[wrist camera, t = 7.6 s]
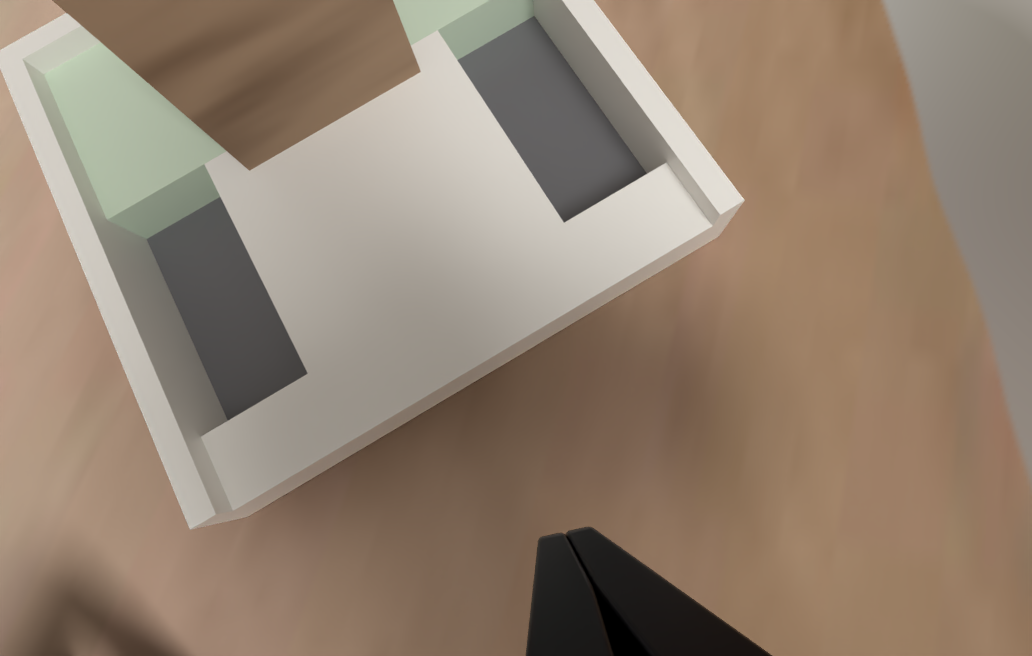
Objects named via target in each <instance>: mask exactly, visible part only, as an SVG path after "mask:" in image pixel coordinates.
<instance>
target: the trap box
mask: <svg viewBox="0 0 1032 656" xmlns="http://www.w3.org/2000/svg"><path fill="white" fill-rule="evenodd" d="M393 2H394V4H395V7H396V9H397V12H398V14H399V17H400V20H401V22H402V25H403V27H404V30H405V32H406V35H407V37H408V40H409V43H410V45H411V48H412V50H413V53H414V55H415V58H416V60H417V63H418V65H419V68H420V71H421V72H420V73H418V74H416V75H415V76H413V77H411V78H409V79H408V80H406V81H404V82H402V83H401V84H399V85H397V86H396V87H394V88H392V89H390V90H389V91H387V92H385V93H383V94H382V95H380V96H378V97H376V98H375V99H373V100H371V101H369V102H368V103H366V104H364V105H363V106H361V107H359V108H357V109H356V110H354V111H352V112H350V113H349V114H347V115H345V116H343V117H342V118H340V119H338V120H337V121H335V122H333V123H331V124H330V125H328V126H326V127H324V128H323V129H321V130H319V131H317V132H316V133H314V134H312V135H310V136H309V137H307V138H305V139H304V140H302V141H300V142H298V143H297V144H295V145H293V146H291V147H290V148H288V149H286V150H284V151H283V152H281V153H279V154H278V155H276V156H274V157H272V158H271V159H269V160H267V161H265V162H264V163H262V164H260V165H258V166H257V167H255V168H253V169H252V170H250V171H249V170H248V169H247V168H246V167H244V166H243V165H242V164H241V163H240V162H239V161H238V160H236V159H235V158H234V157H233V156H232V155H231V154H229V153H228V152H227V151H226V150H225V149H224V148H223V147H221V146H220V145H219V144H218V143H217V142H216V141H214V140H213V139H212V138H211V137H210V136H209V135H207V134H206V133H205V132H204V131H203V130H202V129H201V128H199V127H198V126H197V125H196V124H195V123H194V122H192V121H191V120H190V119H189V118H188V117H187V116H186V115H184V114H183V113H182V112H181V111H180V110H179V109H177V108H176V107H175V106H174V105H173V104H172V103H170V102H169V101H168V100H167V99H166V98H165V97H164V96H162V95H161V94H160V93H159V92H158V91H157V90H155V89H154V88H153V87H152V86H151V85H150V84H149V83H147V82H146V81H145V80H144V79H143V78H142V77H140V76H139V75H138V74H137V73H136V72H135V71H133V70H132V69H131V68H130V67H129V66H128V65H127V64H125V63H124V62H123V61H122V60H121V59H120V58H118V57H117V56H116V55H115V54H114V53H113V52H112V51H110V50H109V49H108V48H107V47H106V46H105V45H103V44H102V43H101V42H100V41H99V40H98V39H96V38H95V37H94V36H93V35H92V34H91V33H90V32H88V31H87V30H86V29H85V28H84V27H83V26H81V25H80V24H79V23H78V22H77V21H76V20H75V19H73V18H72V17H71V16H70V15H69V14H68V13H65V14H64V15H62V16H60V17H58V18H56V19H55V20H53V21H51V22H49V23H47V24H46V25H44V26H42V27H40V28H39V29H37V30H35V31H33V32H31V33H30V34H28V35H26V36H24V37H22V38H21V39H19V40H17V41H15V42H14V43H12V44H10V45H8V46H6V47H5V48H3V49H1V50H0V69H1V71H2V74H3V76H4V79H5V81H6V84H7V86H8V88H9V91H10V93H11V96H12V98H13V101H14V103H15V105H16V108H17V110H18V113H19V115H20V118H21V120H22V123H23V125H24V127H25V130H26V132H27V135H28V137H29V140H30V142H31V144H32V147H33V149H34V152H35V154H36V157H37V159H38V161H39V164H40V166H41V169H42V171H43V174H44V176H45V178H46V181H47V183H48V186H49V188H50V191H51V193H52V195H53V198H54V200H55V203H56V205H57V208H58V210H59V212H60V215H61V217H62V220H63V222H64V225H65V227H66V229H67V232H68V234H69V237H70V239H71V242H72V244H73V247H74V249H75V251H76V254H77V256H78V259H79V261H80V264H81V266H82V268H83V271H84V273H85V276H86V278H87V281H88V283H89V285H90V288H91V290H92V293H93V295H94V298H95V300H96V302H97V305H98V307H99V310H100V312H101V315H102V317H103V319H104V322H105V324H106V327H107V329H108V332H109V334H110V336H111V339H112V341H113V344H114V346H115V349H116V351H117V354H118V356H119V358H120V361H121V363H122V366H123V368H124V371H125V373H126V375H127V378H128V380H129V383H130V385H131V388H132V390H133V392H134V395H135V397H136V400H137V402H138V405H139V407H140V409H141V412H142V414H143V417H144V419H145V422H146V424H147V426H148V429H149V431H150V434H151V436H152V439H153V441H154V443H155V446H156V448H157V451H158V453H159V456H160V458H161V460H162V463H163V465H164V468H165V470H166V473H167V475H168V478H169V480H170V482H171V485H172V487H173V490H174V492H175V495H176V497H177V499H178V502H179V504H180V507H181V509H182V512H183V514H184V516H185V519H186V521H187V524H188V526H189V529H190V530H191V529H196V528H200V527H205V526H209V525H214V524H218V523H223V522H227V521H232V520H236V519H241V518H245V517H248V516H250V515H252V514H253V513H255V512H257V511H258V510H260V509H262V508H263V507H265V506H267V505H269V504H270V503H272V502H274V501H275V500H277V499H279V498H280V497H282V496H284V495H285V494H287V493H289V492H290V491H292V490H294V489H295V488H297V487H299V486H300V485H302V484H304V483H305V482H307V481H309V480H311V479H312V478H314V477H316V476H317V475H319V474H321V473H322V472H324V471H326V470H327V469H329V468H331V467H332V466H334V465H336V464H337V463H339V462H341V461H342V460H344V459H346V458H347V457H349V456H351V455H353V454H354V453H356V452H358V451H359V450H361V449H363V448H364V447H366V446H368V445H369V444H371V443H373V442H374V441H376V440H378V439H379V438H381V437H383V436H384V435H386V434H388V433H389V432H391V431H393V430H395V429H396V428H398V427H400V426H401V425H403V424H405V423H406V422H408V421H410V420H411V419H413V418H415V417H416V416H418V415H420V414H421V413H423V412H425V411H426V410H428V409H430V408H431V407H433V406H435V405H437V404H438V403H440V402H442V401H443V400H445V399H447V398H448V397H450V396H452V395H453V394H455V393H457V392H458V391H460V390H462V389H463V388H465V387H467V386H468V385H470V384H472V383H473V382H475V381H477V380H479V379H480V378H482V377H484V376H485V375H487V374H489V373H490V372H492V371H494V370H495V369H497V368H499V367H500V366H502V365H504V364H505V363H507V362H509V361H510V360H512V359H514V358H515V357H517V356H519V355H521V354H522V353H524V352H526V351H527V350H529V349H531V348H532V347H534V346H536V345H537V344H539V343H541V342H542V341H544V340H546V339H547V338H549V337H551V336H552V335H554V334H556V333H557V332H559V331H561V330H563V329H564V328H566V327H568V326H569V325H571V324H573V323H574V322H576V321H578V320H579V319H581V318H583V317H584V316H586V315H588V314H589V313H591V312H593V311H594V310H596V309H598V308H599V307H601V306H603V305H605V304H606V303H608V302H610V301H611V300H613V299H615V298H616V297H618V296H620V295H621V294H623V293H625V292H626V291H628V290H630V289H631V288H633V287H635V286H636V285H638V284H640V283H641V282H643V281H645V280H647V279H648V278H650V277H652V276H653V275H655V274H657V273H658V272H660V271H662V270H663V269H665V268H667V267H668V266H670V265H672V264H673V263H675V262H677V261H678V260H680V259H682V258H683V257H685V256H687V255H689V254H690V253H692V252H694V251H695V250H697V249H699V248H700V247H702V246H704V245H705V244H707V243H709V242H710V241H712V240H714V239H715V238H717V237H719V235H720V234H721V232H722V231H723V230H724V228H725V227H726V225H727V224H728V223H729V221H730V220H731V219H732V217H733V216H734V214H735V213H736V212H737V210H738V209H739V207H740V206H741V205H742V203H743V202H744V201H745V200H744V199H743V198H742V196H741V195H740V194H739V192H738V191H737V190H736V188H735V187H734V186H733V184H732V183H731V182H730V180H729V179H728V178H727V176H726V175H725V174H724V172H723V171H722V170H721V168H720V167H719V166H718V164H717V163H716V162H715V160H714V159H713V158H712V156H711V155H710V154H709V152H708V151H707V150H706V148H705V147H704V146H703V145H702V143H701V142H700V141H699V139H698V138H697V137H696V135H695V134H694V133H693V131H692V130H691V129H690V127H689V126H688V125H687V123H686V122H685V121H684V119H683V118H682V117H681V115H680V114H679V113H678V111H677V110H676V109H675V107H674V106H673V105H672V103H671V102H670V101H669V99H668V98H667V97H666V95H665V94H664V93H663V91H662V90H661V89H660V87H659V86H658V85H657V83H656V82H655V81H654V79H653V78H652V77H651V76H650V74H649V73H648V72H647V70H646V69H645V68H644V66H643V65H642V64H641V62H640V61H639V60H638V58H637V57H636V56H635V54H634V53H633V52H632V50H631V49H630V48H629V46H628V45H627V44H626V42H625V41H624V40H623V38H622V37H621V36H620V34H619V33H618V32H617V30H616V29H615V28H614V26H613V25H612V24H611V22H610V21H609V20H608V18H607V17H606V16H605V14H604V13H603V12H602V11H601V9H600V8H599V7H598V5H597V4H596V3H595V1H594V0H393Z"/></svg>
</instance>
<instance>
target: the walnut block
mask: <svg viewBox="0 0 1032 656" xmlns="http://www.w3.org/2000/svg"><path fill="white" fill-rule="evenodd" d="M53 1H54V2H55V3H56V4H57V5H58V6H59V7H61V8H62V9H63V10H64V11H65V12H66V13H68V14H69V15H70V16H71V17H72V18H73V19H75V20H76V21H77V22H78V23H79V24H80V25H81V26H83V27H84V28H85V29H86V30H87V31H88V32H90V33H91V34H92V35H93V36H94V37H95V38H96V39H98V40H99V41H100V42H101V43H102V44H103V45H105V46H106V47H107V48H108V49H109V50H110V51H112V52H113V53H114V54H115V55H116V56H117V57H118V58H120V59H121V60H122V61H123V62H124V63H125V64H127V65H128V66H129V67H130V68H131V69H132V70H133V71H135V72H136V73H137V74H138V75H139V76H140V77H142V78H143V79H144V80H145V81H146V82H147V83H149V84H150V85H151V86H152V87H153V88H154V89H155V90H157V91H158V92H159V93H160V94H161V95H162V96H164V97H165V98H166V99H167V100H168V101H169V102H170V103H172V104H173V105H174V106H175V107H176V108H177V109H179V110H180V111H181V112H182V113H183V114H184V115H186V116H187V117H188V118H189V119H190V120H191V121H192V122H194V123H195V124H196V125H197V126H198V127H199V128H201V129H202V130H203V131H204V132H205V133H206V134H207V135H209V136H210V137H211V138H212V139H213V140H214V141H216V142H217V143H218V144H219V145H220V146H221V147H223V148H224V149H225V150H226V151H227V152H228V153H229V154H231V155H232V156H233V157H234V158H235V159H236V160H238V161H239V162H240V163H241V164H242V165H243V166H244V167H246V168H247V169H248V170H249V171H250V170H252V169H253V168H255V167H257V166H258V165H260V164H262V163H264V162H265V161H267V160H269V159H271V158H272V157H274V156H276V155H278V154H279V153H281V152H283V151H284V150H286V149H288V148H290V147H291V146H293V145H295V144H297V143H298V142H300V141H302V140H304V139H305V138H307V137H309V136H310V135H312V134H314V133H316V132H317V131H319V130H321V129H323V128H324V127H326V126H328V125H330V124H331V123H333V122H335V121H337V120H338V119H340V118H342V117H343V116H345V115H347V114H349V113H350V112H352V111H354V110H356V109H357V108H359V107H361V106H363V105H364V104H366V103H368V102H369V101H371V100H373V99H375V98H376V97H378V96H380V95H382V94H383V93H385V92H387V91H389V90H390V89H392V88H394V87H396V86H397V85H399V84H401V83H402V82H404V81H406V80H408V79H409V78H411V77H413V76H415V75H416V74H418V73H420V72H421V71H420V68H419V65H418V63H417V60H416V58H415V55H414V53H413V50H412V48H411V45H410V43H409V40H408V37H407V35H406V32H405V30H404V27H403V25H402V22H401V20H400V17H399V14H398V12H397V9H396V7H395V4H394V2H393V0H53Z"/></svg>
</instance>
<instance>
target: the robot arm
mask: <svg viewBox="0 0 1032 656" xmlns="http://www.w3.org/2000/svg"><path fill="white" fill-rule="evenodd" d="M526 656H772V655H771V654H769V653H768V652H766V651H765V650H764V649H762V648H761V647H759V646H758V645H757V644H755V643H754V642H752V641H751V640H750V639H748V638H747V637H745V636H744V635H743V634H741V633H740V632H738V631H737V630H736V629H734V628H733V627H731V626H730V625H729V624H727V623H726V622H724V621H723V620H722V619H720V618H719V617H717V616H716V615H715V614H713V613H712V612H710V611H709V610H708V609H706V608H705V607H703V606H702V605H701V604H699V603H698V602H696V601H695V600H694V599H692V598H691V597H689V596H688V595H686V594H685V593H684V592H682V591H681V590H679V589H678V588H677V587H675V586H674V585H672V584H671V583H670V582H668V581H667V580H665V579H664V578H663V577H661V576H660V575H658V574H657V573H656V572H654V571H653V570H651V569H650V568H649V567H647V566H646V565H644V564H643V563H642V562H640V561H639V560H637V559H636V558H635V557H633V556H632V555H630V554H629V553H628V552H626V551H625V550H623V549H622V548H621V547H619V546H618V545H616V544H615V543H614V542H612V541H611V540H609V539H608V538H606V537H605V536H604V535H602V534H601V533H599V532H598V531H597V530H595V529H594V528H592V527H584V528H579V529H574V530H570V531H568V532H567V533H566V535H565V534H563V533H556V534H552V535H547V536H543V537H540V538H539V540H538V547H537V556H536V565H535V574H534V584H533V593H532V602H531V611H530V621H529V630H528V639H527V648H526Z"/></svg>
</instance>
